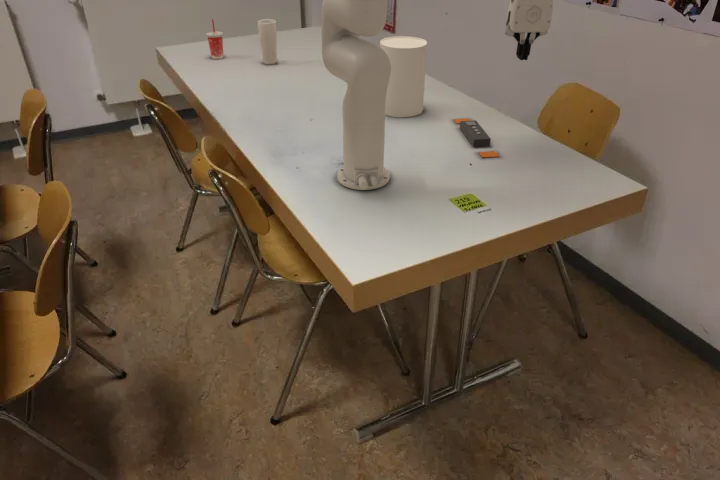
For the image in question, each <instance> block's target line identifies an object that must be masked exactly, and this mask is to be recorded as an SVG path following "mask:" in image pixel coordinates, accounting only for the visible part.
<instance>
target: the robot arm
mask: <svg viewBox="0 0 720 480" xmlns="http://www.w3.org/2000/svg"><path fill="white" fill-rule="evenodd" d="M388 1H389V0H322V4H321V19H320V20H321V22H320V23H321V57H322V62H323V65H324V67H325V69H326V70H327V72H328V73H330V74H331V75H332V76H334V77H335V78H338V79H340V80H341V81H343V82H345V83H346V84H347V88H346V91H345V94H344V97H343V100H342V113H341V114H342V151H343V152H342V154H343V156H342V158H343V160H342V161H343V163H342V164H343V166H342V167H341V168H339V169H338V171H337V173H336V179H337V182H338V183H339V184H340V185H341V186H343V187H344V188H345V187H346V188H348V189H351V190H355V191H356V190H357V191H370V190H376V189H380V188H382V187H384V186H386V185H387V184H388V183H389V182H390V179H391V173H390V170H389V169H387V168H386V167H385V138H386V137H385V135H386V134H385V133H386V132H385V131H386V115H385V102H386V93H387V87H388V83H389V78H390V73H391V64H390V60H389V57H388V55H387V54H386V53H385V51H384V50H383V49H381V48H380V45H377V44H375V43H372V42H371V41H367V40H366V39H363V38H361V36H362V37H374V36H377V35H379V34H380V33H381V32H382V31H383V30H384V28H385V26H386V22H387V16H388V3H389V2H388ZM553 7H554V0H509V5H508V9H507V14H506V22H505V26H506V28H505V31H504V34H505V35H506V36H508V37H511V38H513V39H514V40H515V41H516V42H517V44H516V50H515V51H516V52H515V56H516V58H517V59H518V60H520V61H528V58H529V56H530V54H531V49H532V44H534V42H535V41H536V40H537V39H538V38H539V37H541V36H545V35H547V34H548V30H550V29H551V25H552V19H553V10H554V9H553Z"/></svg>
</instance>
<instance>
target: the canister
mask: <svg viewBox="0 0 720 480" xmlns="http://www.w3.org/2000/svg"><path fill="white" fill-rule="evenodd" d="M379 47H380V48H381V49H383V50H384V51H385V53H386V54H387V55H388V57H389V60H390V64H391V73H390V78H389V83H388V87H387V93H386V102H385V116H388V117H394V118H410V117H416V116H418V115H421V114H422V113H423V112H424V100H425V99H424V97H425V83H426V69H427V68H426V67H427V50H428V41H427V40H425V39H423V38H420V37H417V36H409V35H407V36H406V35H397V36H394V35H393V36H387V37H384V38H382V39H380V41H379Z"/></svg>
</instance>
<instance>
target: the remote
mask: <svg viewBox="0 0 720 480" xmlns="http://www.w3.org/2000/svg"><path fill="white" fill-rule="evenodd" d="M459 130H460V131H461V133H462V134H463V135H464V137H465V138H466V139H467V141H468V142H469V143H470V145H471V146H472V148H485V147H491V141H492V140H491V139H492V138H491V137H490V136H489V135H488V133H487V132H486V131H485V129H484V128H483V127H482V125H480V124H479V122H478V121H477V120H471V121H460V124H459Z"/></svg>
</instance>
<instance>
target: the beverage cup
mask: <svg viewBox="0 0 720 480" xmlns="http://www.w3.org/2000/svg"><path fill="white" fill-rule="evenodd" d="M214 21H215V20H214V19H213V18H212V19H211V22H212V31H209V32H206V34H205V35H206V37H207V43H208V47H209V52H210V57H211V59H212V60H221V59H224V55H225V54H224V41H223V40H224V39H223V36H224V33H223V32H222V31H216V29H215V22H214Z"/></svg>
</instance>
